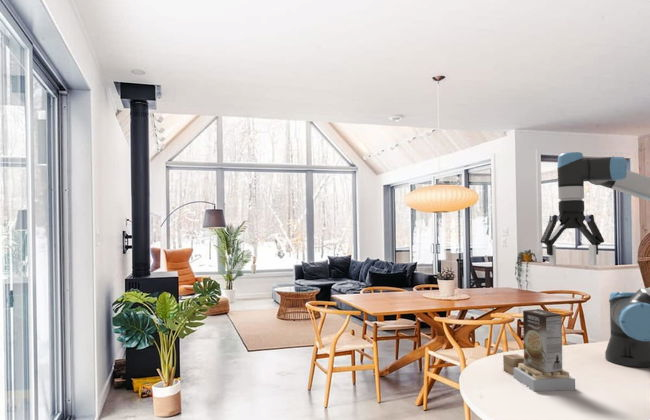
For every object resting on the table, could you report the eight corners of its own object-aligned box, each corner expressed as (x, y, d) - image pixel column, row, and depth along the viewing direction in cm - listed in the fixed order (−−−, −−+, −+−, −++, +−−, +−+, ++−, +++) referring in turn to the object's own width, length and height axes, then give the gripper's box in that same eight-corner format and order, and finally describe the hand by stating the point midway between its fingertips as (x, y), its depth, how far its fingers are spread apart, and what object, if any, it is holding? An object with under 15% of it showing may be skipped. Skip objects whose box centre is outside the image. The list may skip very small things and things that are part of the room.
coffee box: (522, 364, 143) (521, 310, 144) (539, 362, 145) (538, 308, 146) (546, 373, 134) (544, 315, 135) (564, 370, 137) (562, 313, 137)
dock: (551, 376, 146) (551, 366, 146) (575, 389, 134) (575, 378, 134) (513, 377, 145) (513, 367, 145) (533, 391, 133) (533, 380, 133)
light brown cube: (517, 369, 153) (517, 354, 153) (527, 374, 148) (527, 358, 149) (503, 371, 152) (503, 355, 152) (513, 375, 147) (513, 359, 147)
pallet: (550, 367, 145) (550, 362, 145) (569, 377, 135) (569, 372, 135) (518, 368, 144) (518, 363, 144) (535, 378, 134) (534, 373, 134)
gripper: (600, 200, 162) (602, 263, 162) (528, 200, 161) (530, 264, 160) (615, 199, 155) (617, 265, 154) (540, 199, 153) (542, 266, 152)
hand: (572, 265), depth 157 cm, fingers open, 13 cm apart
